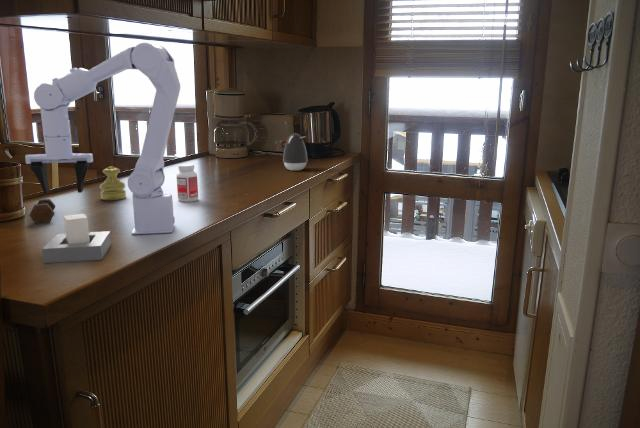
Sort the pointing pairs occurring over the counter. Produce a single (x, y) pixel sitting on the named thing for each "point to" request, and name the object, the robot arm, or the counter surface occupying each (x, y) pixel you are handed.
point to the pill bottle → (187, 183)
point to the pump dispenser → (295, 153)
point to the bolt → (43, 211)
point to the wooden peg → (76, 229)
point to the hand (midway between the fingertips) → (63, 192)
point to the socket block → (77, 248)
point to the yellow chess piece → (112, 185)
